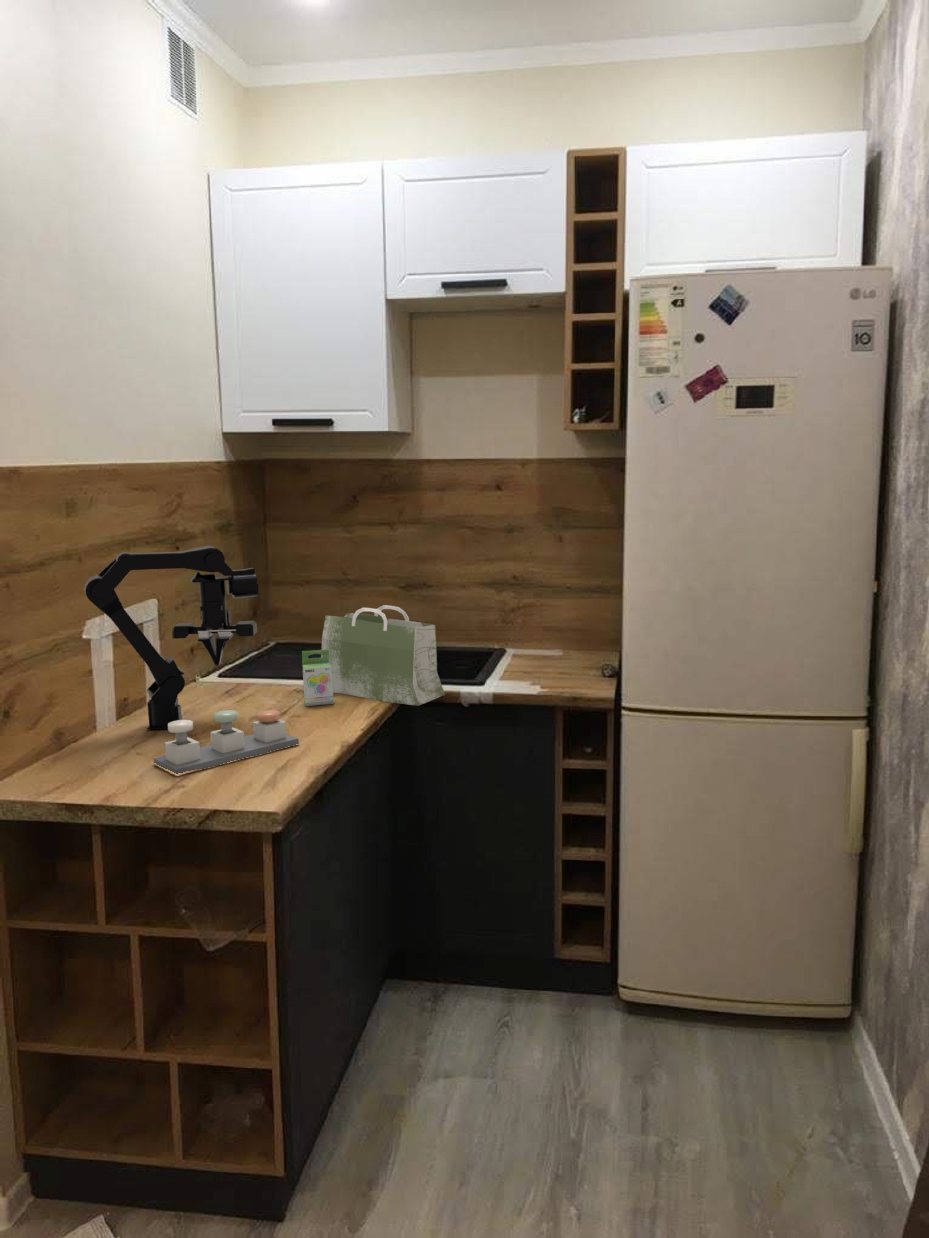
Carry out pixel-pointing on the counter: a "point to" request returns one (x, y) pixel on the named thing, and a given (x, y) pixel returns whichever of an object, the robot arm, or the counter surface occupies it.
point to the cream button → (180, 730)
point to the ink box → (317, 678)
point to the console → (225, 747)
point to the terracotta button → (268, 716)
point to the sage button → (226, 720)
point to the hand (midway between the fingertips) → (217, 665)
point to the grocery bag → (382, 657)
